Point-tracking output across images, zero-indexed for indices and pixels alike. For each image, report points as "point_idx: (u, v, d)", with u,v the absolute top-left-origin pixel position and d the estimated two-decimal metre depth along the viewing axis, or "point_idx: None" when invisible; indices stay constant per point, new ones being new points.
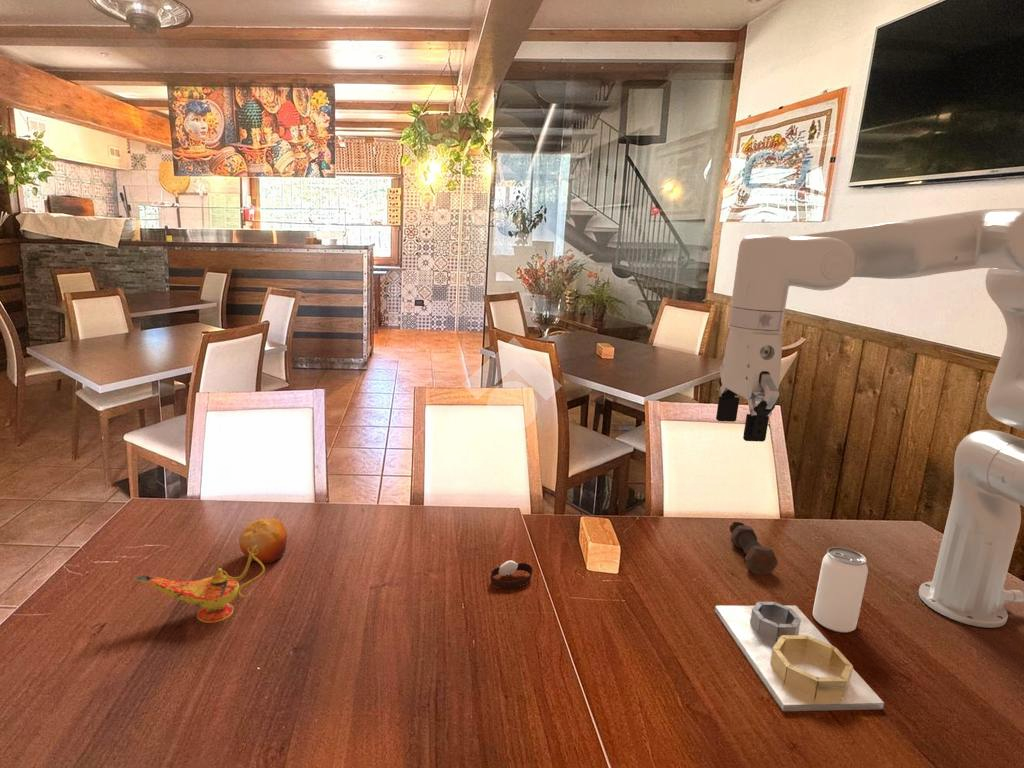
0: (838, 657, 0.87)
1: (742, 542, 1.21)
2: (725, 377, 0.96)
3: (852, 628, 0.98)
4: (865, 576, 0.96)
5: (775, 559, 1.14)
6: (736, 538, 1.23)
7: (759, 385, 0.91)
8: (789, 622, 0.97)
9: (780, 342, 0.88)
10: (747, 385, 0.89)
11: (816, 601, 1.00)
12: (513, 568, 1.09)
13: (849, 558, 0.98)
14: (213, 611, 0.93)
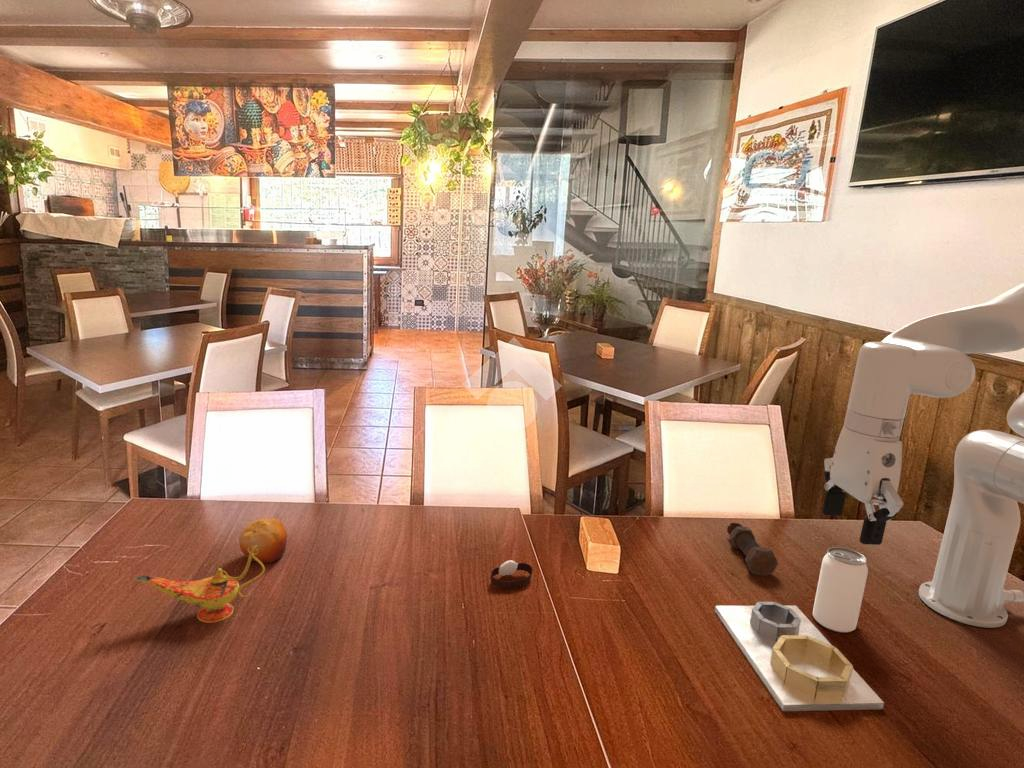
0: (838, 657, 0.87)
1: (741, 543, 1.20)
2: (836, 475, 0.97)
3: (852, 628, 0.98)
4: (865, 576, 0.96)
5: (775, 560, 1.13)
6: (734, 539, 1.23)
7: None
8: (789, 622, 0.97)
9: (901, 450, 0.89)
10: (866, 490, 0.90)
11: (816, 601, 1.00)
12: (513, 568, 1.09)
13: (849, 558, 0.98)
14: (213, 611, 0.93)
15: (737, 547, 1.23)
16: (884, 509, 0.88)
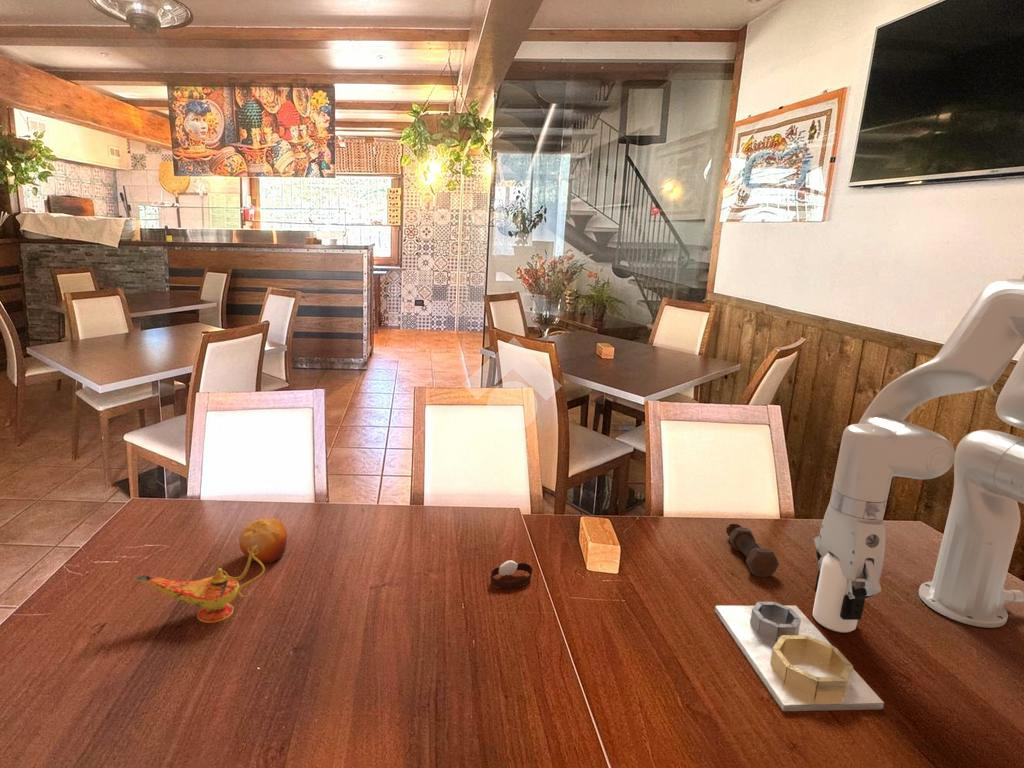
0: (838, 657, 0.87)
1: (741, 544, 1.20)
2: (823, 549, 1.00)
3: (852, 628, 0.98)
4: None
5: (776, 561, 1.13)
6: (734, 540, 1.22)
7: None
8: (789, 622, 0.97)
9: (884, 531, 0.93)
10: (852, 569, 0.94)
11: (816, 601, 1.00)
12: (512, 568, 1.09)
13: None
14: (213, 611, 0.93)
15: (737, 548, 1.23)
16: (862, 589, 0.93)
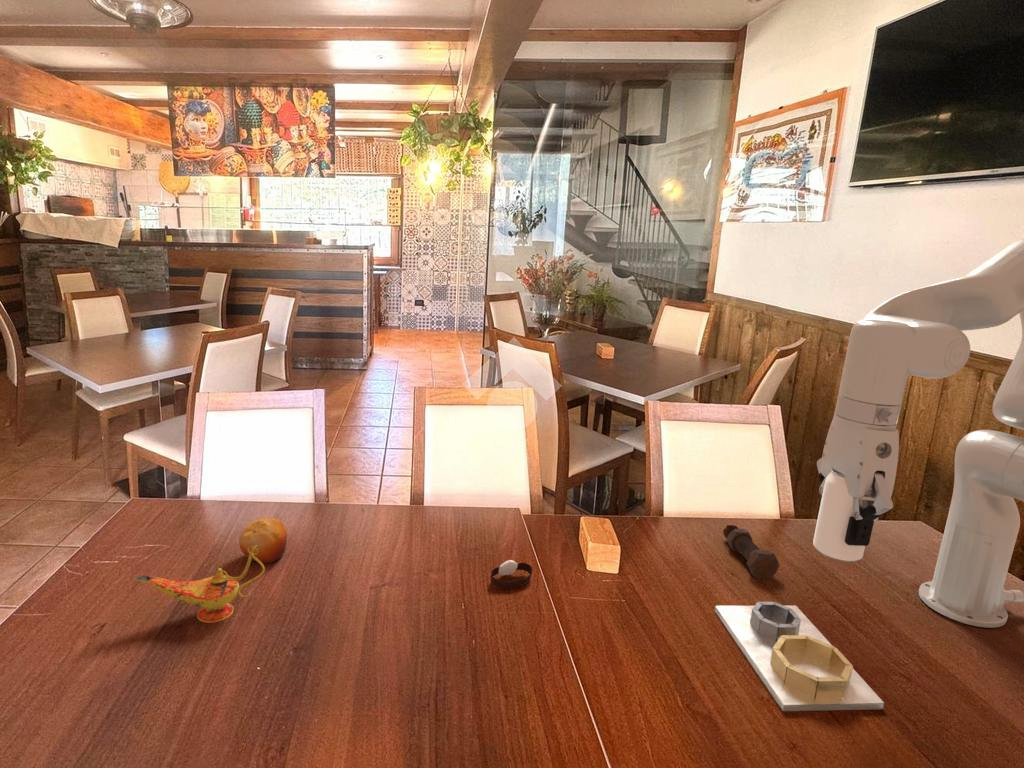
0: (838, 657, 0.87)
1: (740, 546, 1.19)
2: (827, 468, 0.88)
3: (858, 557, 0.85)
4: None
5: (777, 562, 1.13)
6: (733, 542, 1.22)
7: None
8: (789, 622, 0.97)
9: (898, 439, 0.80)
10: (859, 484, 0.81)
11: (817, 527, 0.88)
12: (512, 568, 1.09)
13: None
14: (213, 611, 0.93)
15: (735, 550, 1.22)
16: (870, 507, 0.81)
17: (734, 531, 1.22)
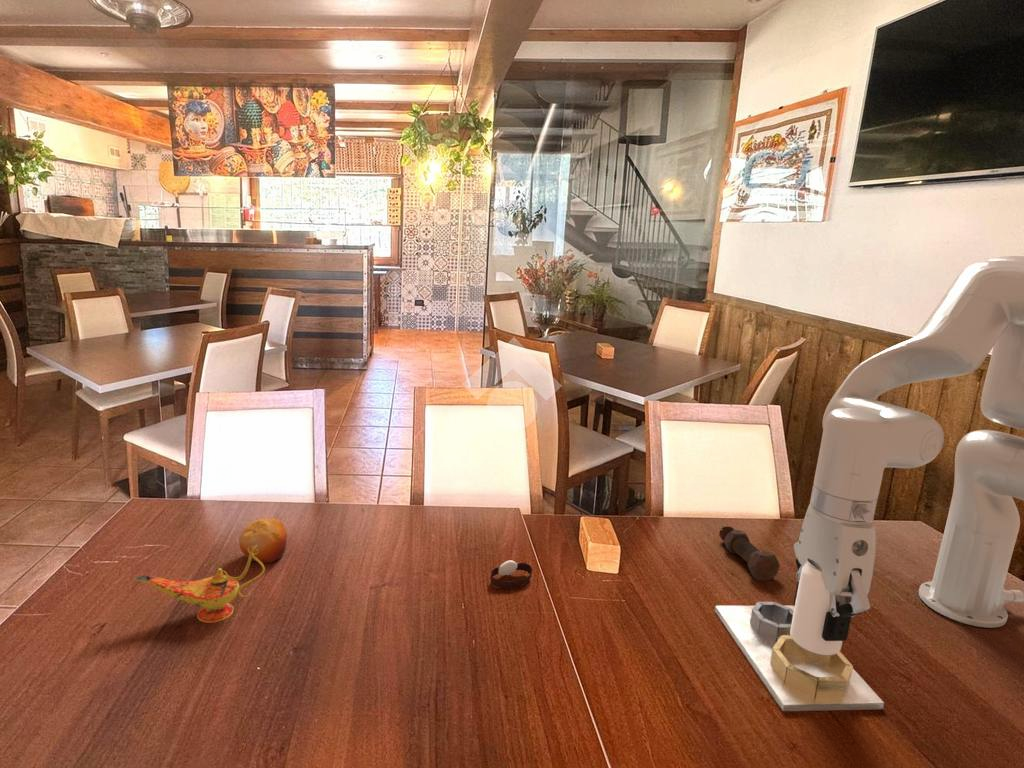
0: (838, 657, 0.87)
1: (739, 548, 1.18)
2: (803, 557, 0.85)
3: (836, 650, 0.83)
4: None
5: (778, 564, 1.12)
6: (730, 544, 1.21)
7: None
8: (789, 622, 0.97)
9: (874, 535, 0.77)
10: (835, 581, 0.78)
11: (794, 618, 0.85)
12: (512, 568, 1.09)
13: None
14: (213, 611, 0.93)
15: (733, 551, 1.21)
16: (847, 605, 0.78)
17: (731, 533, 1.21)
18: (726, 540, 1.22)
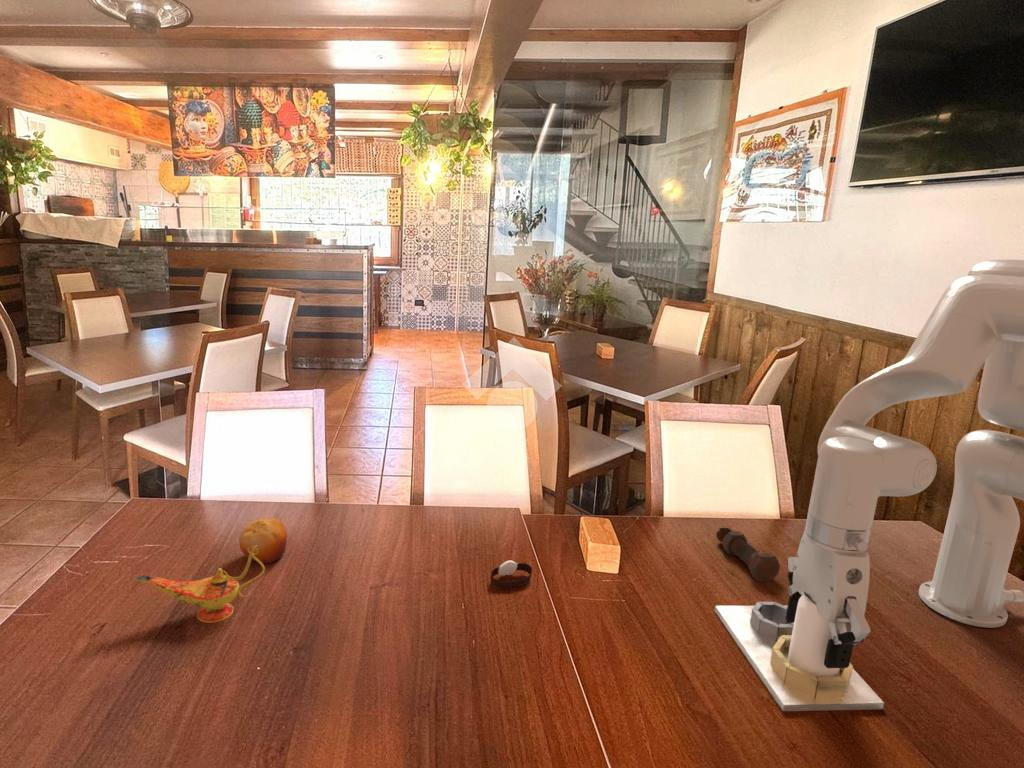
0: None
1: (738, 549, 1.18)
2: (799, 582, 0.86)
3: None
4: None
5: (778, 565, 1.12)
6: (729, 545, 1.20)
7: None
8: (789, 622, 0.97)
9: (868, 564, 0.78)
10: (830, 609, 0.79)
11: (791, 650, 0.86)
12: (512, 568, 1.09)
13: None
14: (213, 611, 0.93)
15: (731, 553, 1.21)
16: (849, 634, 0.77)
17: (729, 534, 1.21)
18: (724, 542, 1.21)
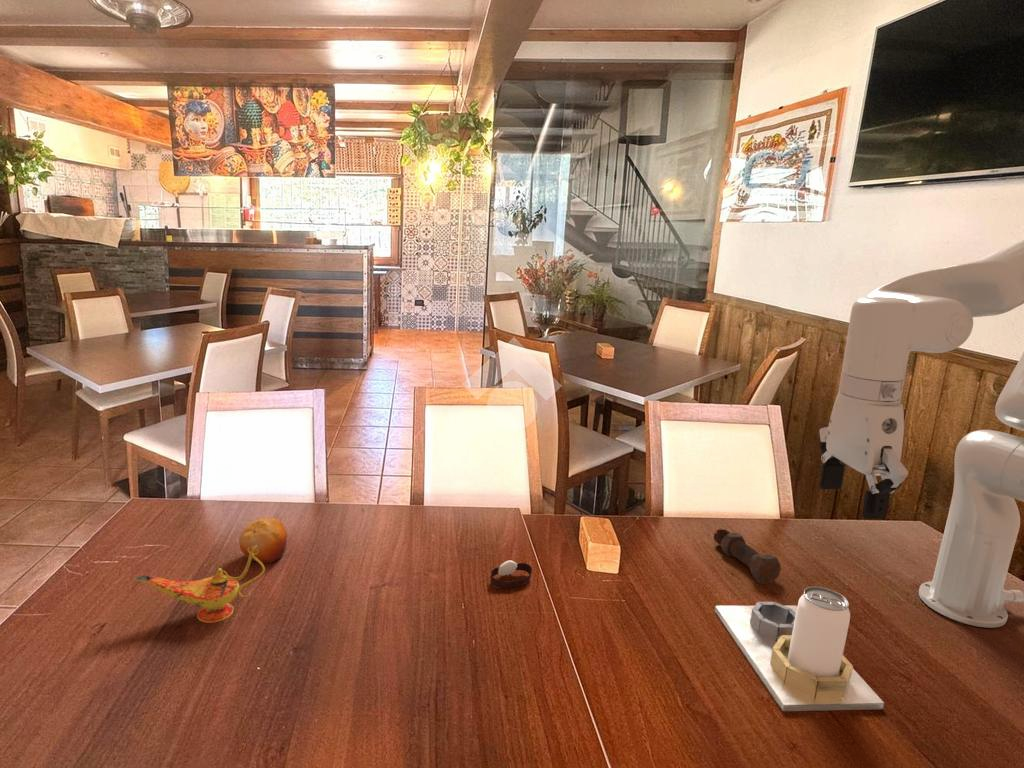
0: None
1: (737, 551, 1.17)
2: (833, 446, 0.89)
3: None
4: (847, 623, 0.82)
5: (779, 566, 1.11)
6: (728, 547, 1.19)
7: None
8: (789, 622, 0.97)
9: (903, 414, 0.81)
10: (867, 460, 0.83)
11: (791, 650, 0.86)
12: (512, 568, 1.09)
13: (828, 601, 0.84)
14: (213, 611, 0.93)
15: (730, 555, 1.20)
16: (887, 480, 0.80)
17: (728, 536, 1.20)
18: (723, 543, 1.20)
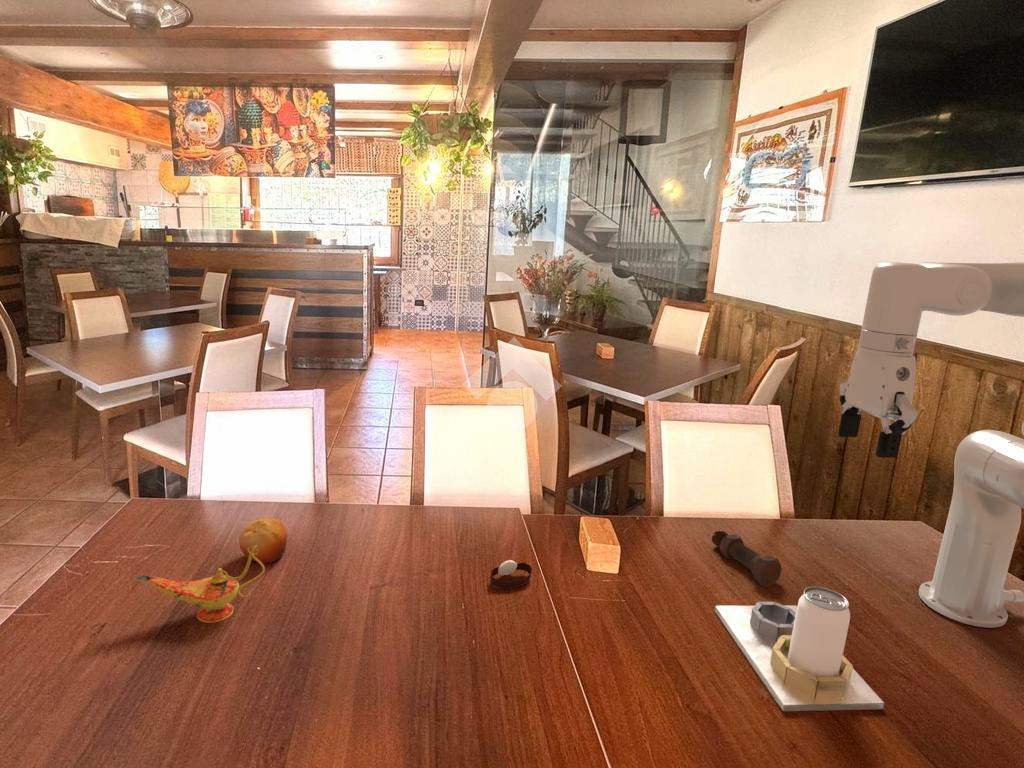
0: None
1: (737, 553, 1.16)
2: (852, 395, 1.01)
3: None
4: (847, 623, 0.82)
5: (780, 567, 1.11)
6: (727, 549, 1.19)
7: (891, 404, 0.95)
8: (789, 622, 0.97)
9: (915, 364, 0.93)
10: (882, 404, 0.94)
11: (791, 650, 0.86)
12: (512, 568, 1.09)
13: (828, 601, 0.84)
14: (213, 611, 0.93)
15: (729, 557, 1.19)
16: (899, 420, 0.92)
17: (727, 538, 1.19)
18: (722, 546, 1.19)
